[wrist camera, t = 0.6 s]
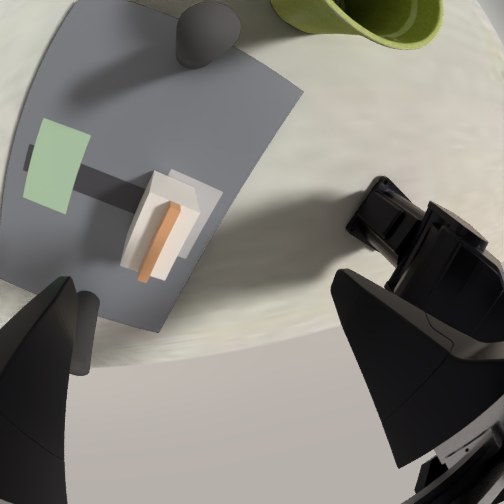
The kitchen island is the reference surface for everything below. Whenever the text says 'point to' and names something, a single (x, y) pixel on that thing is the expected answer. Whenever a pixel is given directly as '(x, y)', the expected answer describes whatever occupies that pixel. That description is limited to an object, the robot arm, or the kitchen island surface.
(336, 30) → the plant pot
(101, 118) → the panel
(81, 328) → the cord post
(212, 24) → the cord post
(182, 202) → the orange striped block
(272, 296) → the kitchen island surface
